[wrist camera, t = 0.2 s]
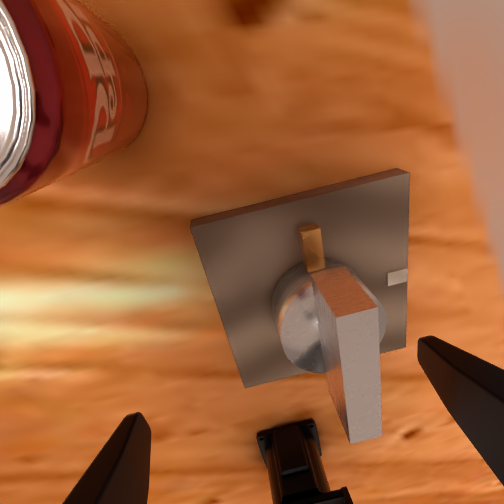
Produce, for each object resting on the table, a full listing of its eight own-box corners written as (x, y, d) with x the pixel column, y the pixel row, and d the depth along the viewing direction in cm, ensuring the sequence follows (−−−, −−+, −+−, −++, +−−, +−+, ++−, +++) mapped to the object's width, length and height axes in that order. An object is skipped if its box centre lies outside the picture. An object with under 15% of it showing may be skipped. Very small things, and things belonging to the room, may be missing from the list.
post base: (396, 335, 28) (407, 348, 27) (243, 375, 28) (245, 390, 27) (397, 168, 21) (411, 173, 20) (191, 220, 21) (189, 228, 19)
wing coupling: (362, 335, 25) (421, 425, 18) (283, 356, 25) (310, 454, 18) (354, 209, 20) (432, 266, 13) (254, 234, 20) (276, 305, 13)
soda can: (97, -19, 15) (-191, -332, 4) (173, 124, 18) (115, 148, 8) (-22, 49, 16) (-537, -77, 5) (71, 176, 19) (-116, 266, 8)
